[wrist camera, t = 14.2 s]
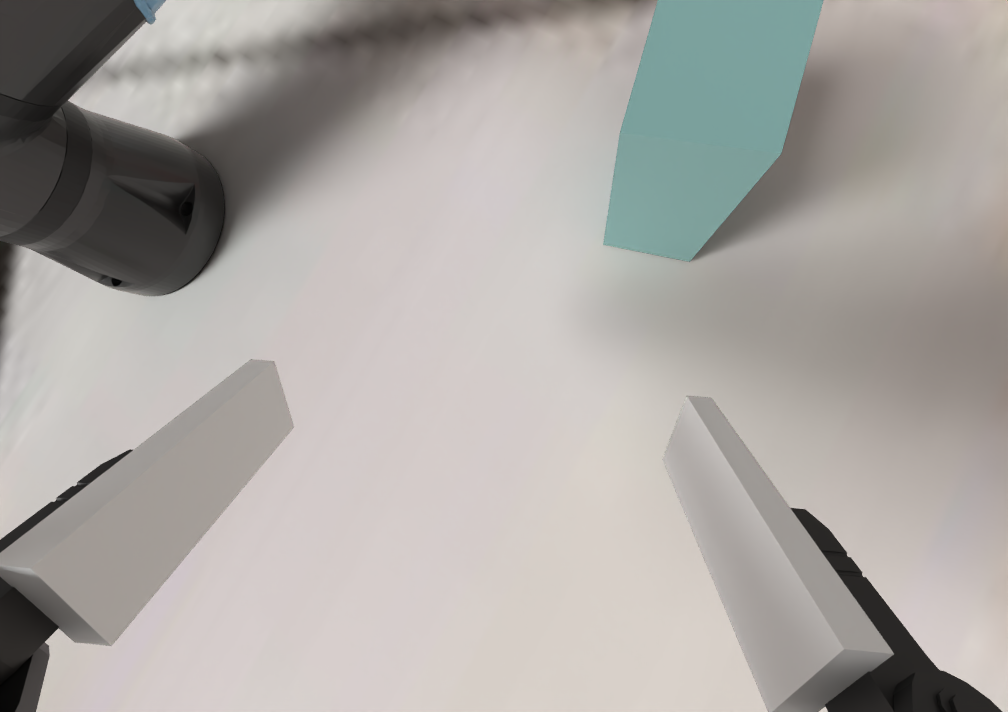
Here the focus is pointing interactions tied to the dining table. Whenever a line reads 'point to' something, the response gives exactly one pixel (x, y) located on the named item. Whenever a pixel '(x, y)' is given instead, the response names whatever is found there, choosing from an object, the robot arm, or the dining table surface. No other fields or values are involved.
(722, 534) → the robot arm
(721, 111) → the teal pillar
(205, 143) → the dining table surface
